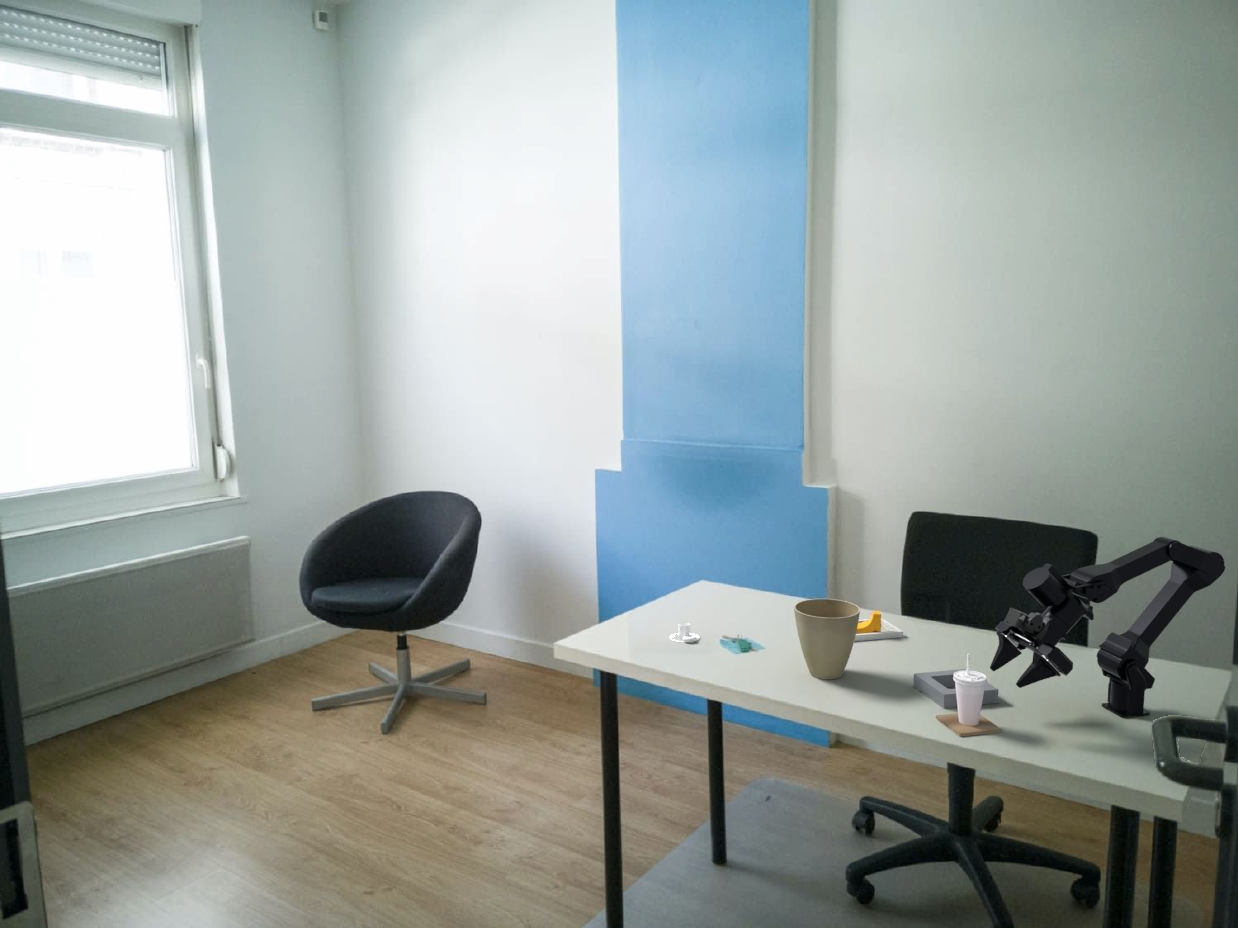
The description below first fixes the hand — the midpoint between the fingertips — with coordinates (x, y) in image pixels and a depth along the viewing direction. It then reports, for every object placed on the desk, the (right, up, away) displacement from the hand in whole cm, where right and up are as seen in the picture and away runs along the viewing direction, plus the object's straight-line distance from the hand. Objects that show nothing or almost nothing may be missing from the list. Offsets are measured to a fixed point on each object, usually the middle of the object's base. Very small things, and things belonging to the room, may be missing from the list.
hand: (1004, 677), depth 183 cm
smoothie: (-7, -9, 0) cm, 12 cm away
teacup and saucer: (-62, -4, +55) cm, 83 cm away
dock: (-4, -7, +16) cm, 18 cm away
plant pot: (-29, -6, +29) cm, 42 cm away
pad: (-7, -10, 0) cm, 12 cm away
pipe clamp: (-15, -2, +57) cm, 59 cm away
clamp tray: (-13, -2, +58) cm, 60 cm away
